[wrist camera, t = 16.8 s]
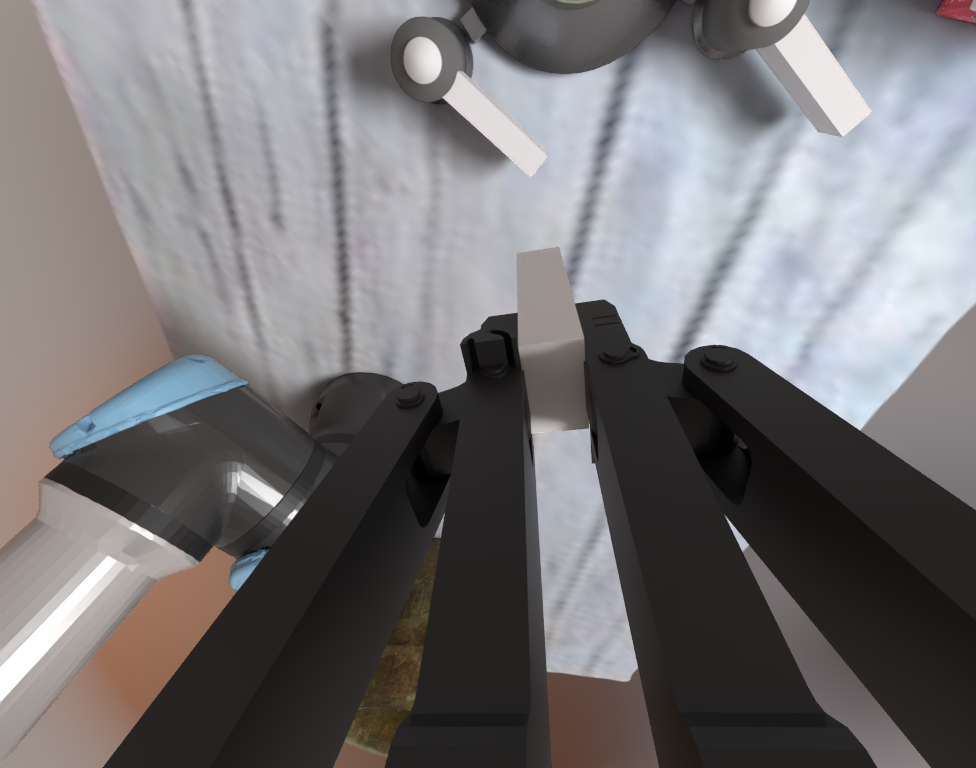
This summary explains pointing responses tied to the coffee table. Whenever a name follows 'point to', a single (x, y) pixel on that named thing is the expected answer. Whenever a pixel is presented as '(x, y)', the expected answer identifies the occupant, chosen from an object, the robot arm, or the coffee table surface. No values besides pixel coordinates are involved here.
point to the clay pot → (397, 668)
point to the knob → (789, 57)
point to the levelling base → (570, 30)
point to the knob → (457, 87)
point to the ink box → (958, 10)
